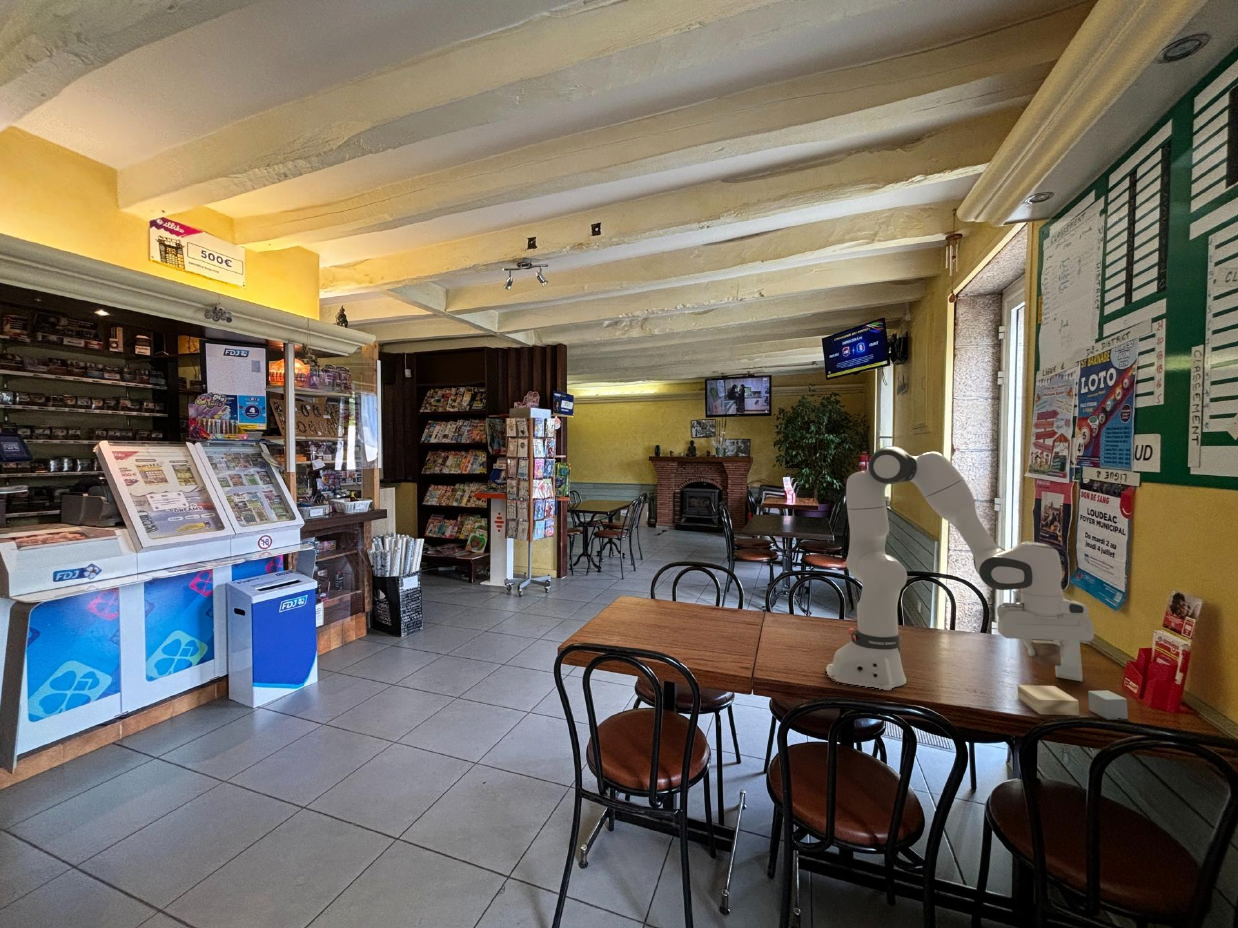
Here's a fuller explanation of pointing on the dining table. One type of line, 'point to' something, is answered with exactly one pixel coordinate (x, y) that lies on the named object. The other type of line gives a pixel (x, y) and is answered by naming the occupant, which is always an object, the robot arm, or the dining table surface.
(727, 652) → the dining table surface
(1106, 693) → the slate cube
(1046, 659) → the walnut block
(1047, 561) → the robot arm
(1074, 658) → the skincare box
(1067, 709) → the maple pedestal
